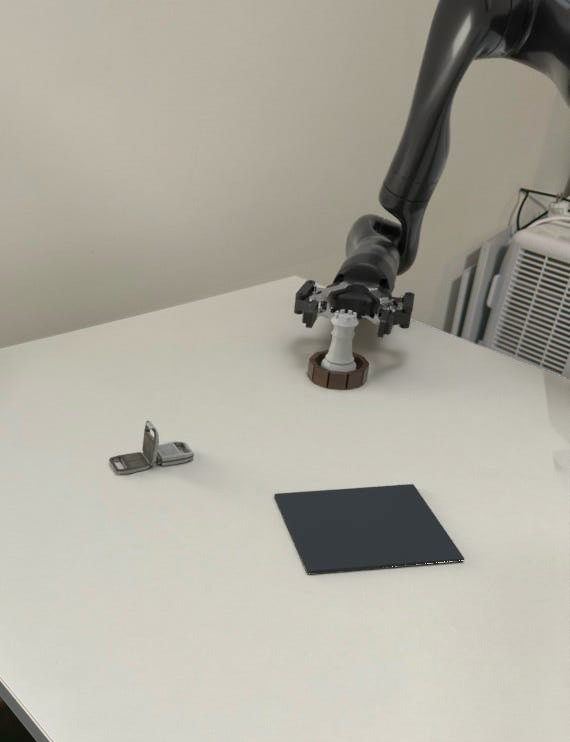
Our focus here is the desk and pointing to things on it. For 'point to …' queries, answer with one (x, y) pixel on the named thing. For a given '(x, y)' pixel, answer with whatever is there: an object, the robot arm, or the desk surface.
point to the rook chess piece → (341, 343)
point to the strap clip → (153, 453)
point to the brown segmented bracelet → (337, 372)
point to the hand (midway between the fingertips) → (345, 325)
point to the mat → (364, 528)
